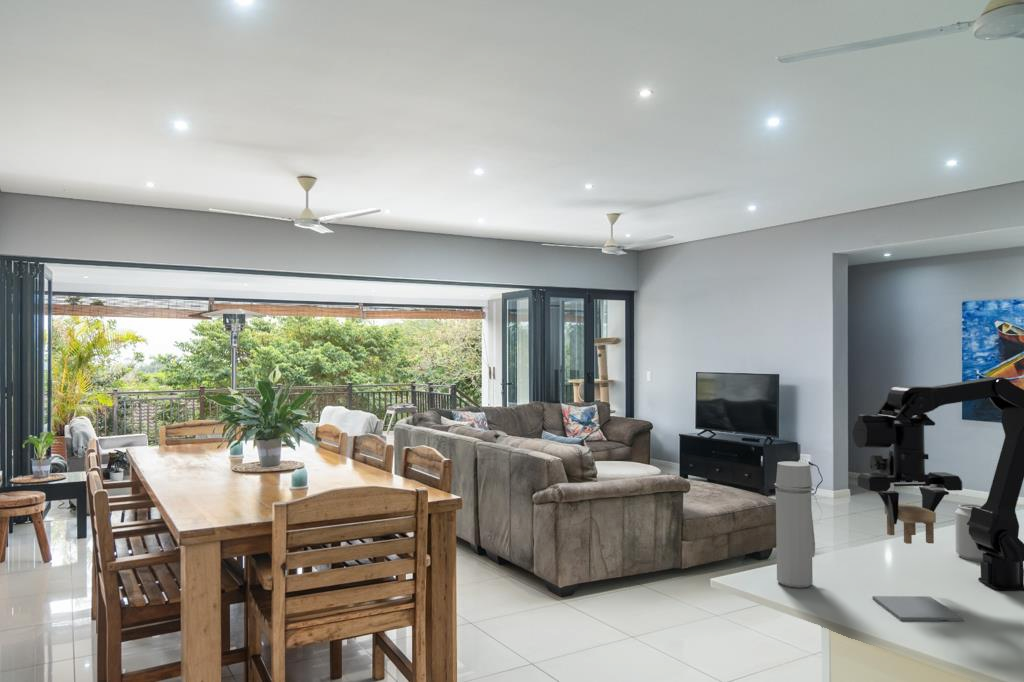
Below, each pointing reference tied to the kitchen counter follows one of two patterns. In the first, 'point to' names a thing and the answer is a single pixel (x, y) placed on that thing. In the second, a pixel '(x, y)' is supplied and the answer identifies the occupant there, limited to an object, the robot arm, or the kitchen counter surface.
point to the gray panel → (916, 608)
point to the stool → (913, 521)
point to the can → (966, 534)
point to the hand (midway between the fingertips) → (909, 523)
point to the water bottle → (794, 524)
